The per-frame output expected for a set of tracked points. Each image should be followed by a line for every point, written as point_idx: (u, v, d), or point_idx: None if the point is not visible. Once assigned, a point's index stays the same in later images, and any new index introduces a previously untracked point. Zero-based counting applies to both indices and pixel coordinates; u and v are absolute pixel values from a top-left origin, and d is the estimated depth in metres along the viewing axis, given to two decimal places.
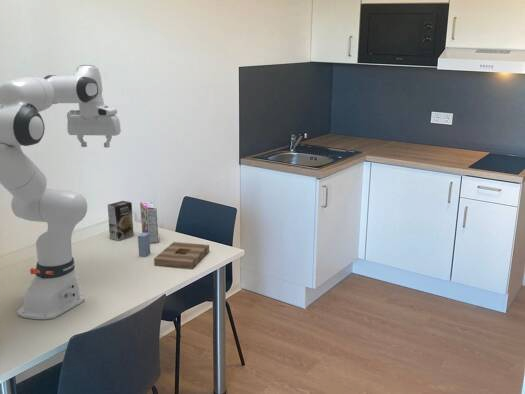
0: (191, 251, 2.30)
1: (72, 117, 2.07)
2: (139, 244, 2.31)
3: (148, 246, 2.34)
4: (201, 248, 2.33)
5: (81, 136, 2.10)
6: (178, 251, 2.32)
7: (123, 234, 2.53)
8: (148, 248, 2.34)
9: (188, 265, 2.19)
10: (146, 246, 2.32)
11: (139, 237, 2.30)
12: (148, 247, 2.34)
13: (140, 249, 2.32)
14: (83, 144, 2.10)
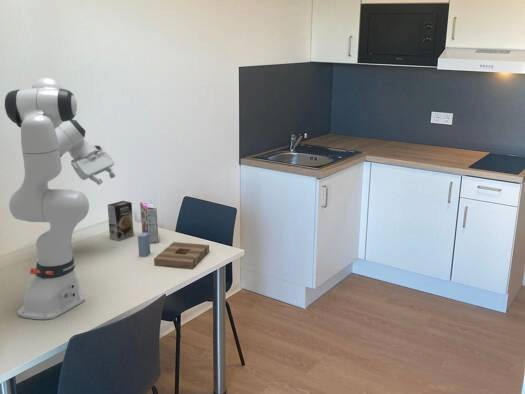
0: (191, 251, 2.30)
1: (80, 161, 2.22)
2: (139, 244, 2.31)
3: (148, 246, 2.34)
4: (201, 248, 2.33)
5: None
6: (178, 251, 2.32)
7: (123, 234, 2.53)
8: (148, 248, 2.34)
9: (188, 265, 2.19)
10: (146, 246, 2.32)
11: (139, 237, 2.30)
12: (148, 247, 2.34)
13: (140, 249, 2.32)
14: (100, 180, 2.25)
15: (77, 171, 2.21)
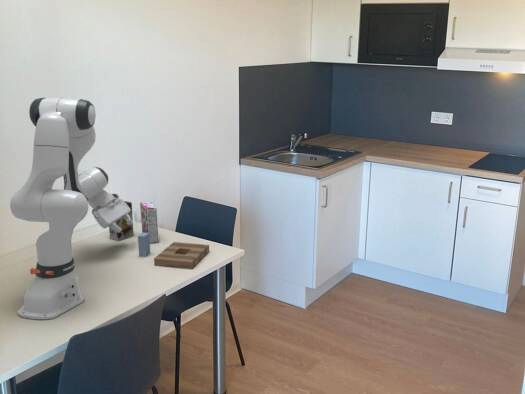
0: (191, 251, 2.30)
1: (100, 209, 2.26)
2: (139, 244, 2.31)
3: (148, 246, 2.34)
4: (201, 248, 2.33)
5: None
6: (178, 251, 2.32)
7: (123, 234, 2.53)
8: (148, 248, 2.34)
9: (188, 265, 2.19)
10: (146, 246, 2.32)
11: (139, 237, 2.31)
12: (148, 247, 2.34)
13: (140, 249, 2.32)
14: (120, 227, 2.29)
15: (98, 220, 2.24)
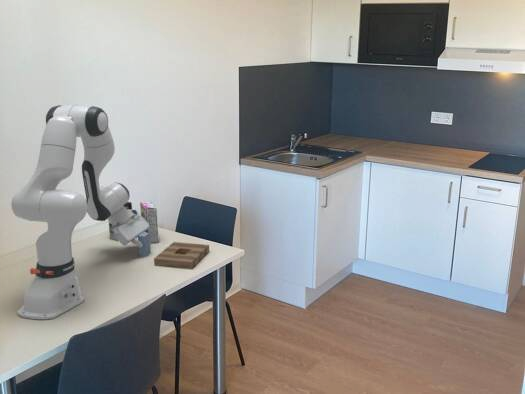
0: (191, 251, 2.30)
1: (120, 226, 2.26)
2: None
3: (148, 246, 2.34)
4: (201, 248, 2.33)
5: None
6: (178, 251, 2.32)
7: None
8: (148, 248, 2.34)
9: (188, 265, 2.19)
10: (146, 246, 2.32)
11: (139, 237, 2.30)
12: (148, 247, 2.34)
13: (140, 249, 2.32)
14: (142, 243, 2.30)
15: (118, 237, 2.24)
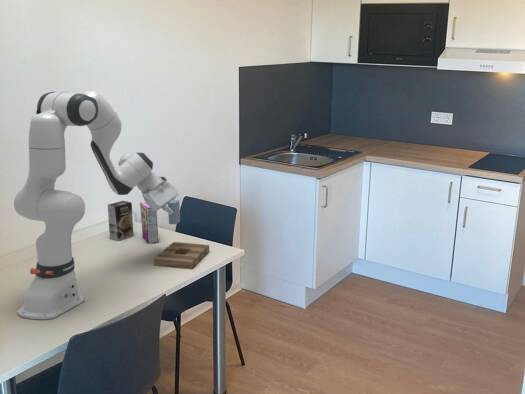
0: (191, 251, 2.30)
1: (151, 192, 2.19)
2: None
3: (178, 213, 2.27)
4: (201, 248, 2.33)
5: None
6: (178, 251, 2.32)
7: (123, 234, 2.53)
8: (178, 215, 2.27)
9: (188, 265, 2.19)
10: (176, 214, 2.25)
11: (169, 204, 2.23)
12: (178, 215, 2.27)
13: (170, 216, 2.25)
14: (172, 209, 2.23)
15: (149, 203, 2.17)
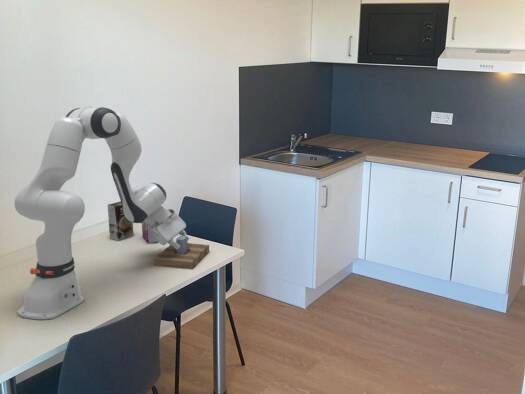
0: (191, 251, 2.30)
1: (159, 226, 2.21)
2: None
3: (186, 249, 2.30)
4: (201, 248, 2.33)
5: None
6: None
7: (123, 234, 2.53)
8: (186, 251, 2.30)
9: (188, 265, 2.19)
10: (184, 250, 2.28)
11: (177, 240, 2.26)
12: (186, 251, 2.30)
13: (178, 253, 2.28)
14: (178, 244, 2.24)
15: (157, 237, 2.20)
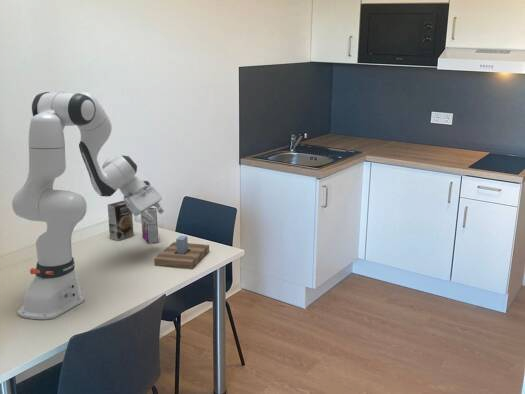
0: (191, 251, 2.30)
1: (132, 196, 2.21)
2: (177, 247, 2.27)
3: (186, 249, 2.30)
4: (201, 248, 2.33)
5: None
6: None
7: (123, 234, 2.53)
8: (186, 251, 2.30)
9: (188, 265, 2.19)
10: (184, 250, 2.28)
11: (177, 240, 2.26)
12: (186, 251, 2.30)
13: (178, 253, 2.28)
14: (151, 215, 2.24)
15: (130, 207, 2.19)
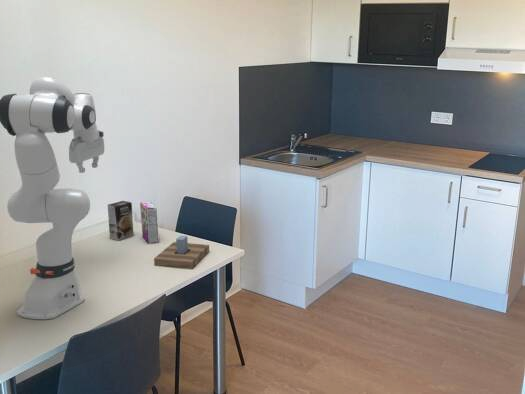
0: (191, 251, 2.30)
1: (80, 144, 2.12)
2: (177, 247, 2.27)
3: (186, 249, 2.30)
4: (201, 248, 2.33)
5: None
6: None
7: (123, 234, 2.53)
8: (186, 251, 2.30)
9: (188, 265, 2.19)
10: (184, 250, 2.28)
11: (177, 240, 2.26)
12: (186, 251, 2.30)
13: (178, 253, 2.28)
14: (84, 169, 2.17)
15: (71, 152, 2.10)
